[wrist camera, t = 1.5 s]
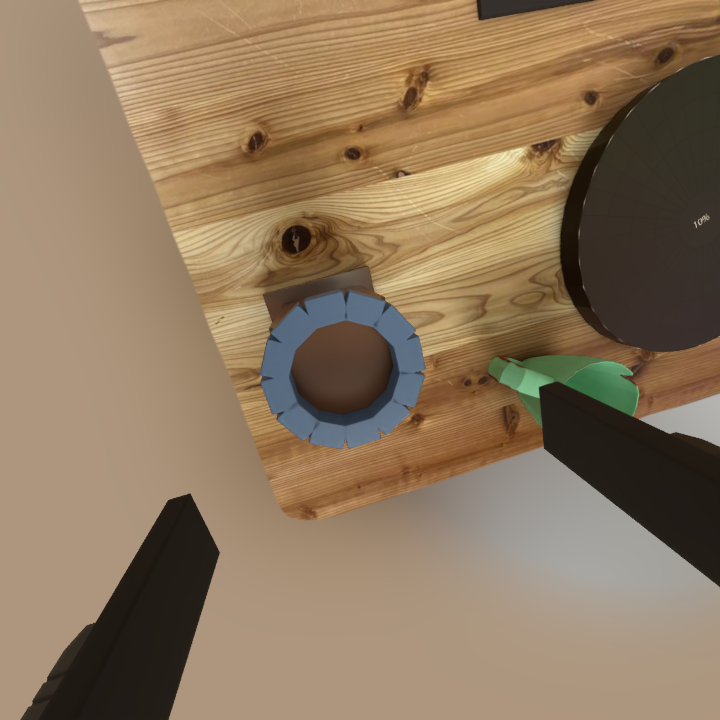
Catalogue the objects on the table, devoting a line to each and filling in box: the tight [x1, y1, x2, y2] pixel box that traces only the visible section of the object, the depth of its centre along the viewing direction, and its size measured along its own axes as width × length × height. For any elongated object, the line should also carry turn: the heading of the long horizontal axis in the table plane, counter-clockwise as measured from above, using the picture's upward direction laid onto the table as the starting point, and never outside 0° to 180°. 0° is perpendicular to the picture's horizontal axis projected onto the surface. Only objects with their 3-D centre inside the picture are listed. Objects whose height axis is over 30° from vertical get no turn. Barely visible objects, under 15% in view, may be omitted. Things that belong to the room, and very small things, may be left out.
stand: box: [263, 266, 393, 415], centre depth 30 cm, size 11×11×14 cm
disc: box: [561, 55, 720, 352], centre depth 38 cm, size 30×30×3 cm
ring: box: [260, 289, 425, 449], centre depth 23 cm, size 11×11×2 cm
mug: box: [488, 355, 639, 427], centre depth 37 cm, size 15×10×10 cm
